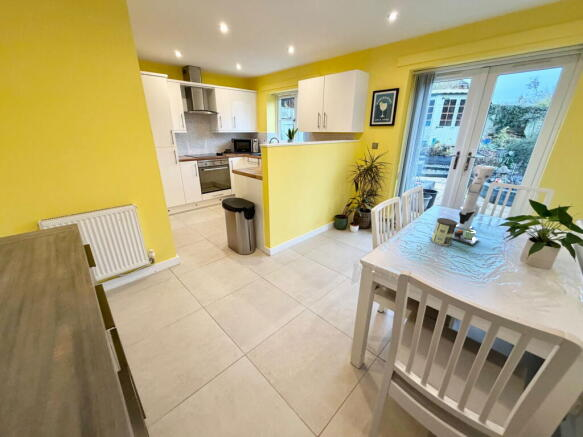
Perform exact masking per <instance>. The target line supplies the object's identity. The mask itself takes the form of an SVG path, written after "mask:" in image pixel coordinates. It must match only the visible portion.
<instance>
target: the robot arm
mask: <svg viewBox="0 0 583 437" xmlns="http://www.w3.org/2000/svg"><path fill="white" fill-rule="evenodd" d="M495 168H496V167H495V166H490V165H480V164H477V165H476V166H475V167H474V171H473V180H472V182H471V183H470V184H469V186H468V189H467V193H466V197H465V200H464V202H463V204H462V205H461V207H459V208H460V210H459V212H458V216H459V221H458V222H457V225H456V228H459V229H461V230H465V229H471V230H472V228H473V226H472V224H473V222H474V218H476V217H477V216H478V214H479V211H480V207H481V206H480V205H479V204H478V203H477V202H478V199H479V198H480V197H479V196H480V195H481V194H482V191H483V189H484V184H485V183H486V181H489V180H491V179H492V176H493V174H494V171H495Z"/></svg>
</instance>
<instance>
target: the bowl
mask: <svg viewBox="0 0 583 437" xmlns="http://www.w3.org/2000/svg"><path fill="white" fill-rule="evenodd" d="M463 232H464V233H463V237H465V238H467V239H472V238H475V235H476V230H473V229H472V228H471V229H463Z"/></svg>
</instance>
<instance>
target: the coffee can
mask: <svg viewBox="0 0 583 437" xmlns="http://www.w3.org/2000/svg"><path fill="white" fill-rule="evenodd" d="M456 225H458V222H457V221H455V220H453V219H450V218H445V217H439V218H437V219H436V224H435V226H434V230H433V233H432V237H431V241H432V242H433V243H434V244H437V245H440V246H450V245H451V244H452V241H453V240H452V237H453V235H454V234H455V231H456V228H457V227H456Z"/></svg>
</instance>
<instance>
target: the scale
mask: <svg viewBox="0 0 583 437" xmlns="http://www.w3.org/2000/svg"><path fill="white" fill-rule="evenodd" d="M458 230H459V229H455V231H454V234H453V237H452V240H451V241H454V242H458V243H461V244H464V245H467V246H469V247H473V246H474V245H475V244H476V243H478V241H479V238H476V237H474V238H475V240H474V241H470V240H466V239H463V238H461V235H463V233H464V231H463V232H462V233H459V232H458Z"/></svg>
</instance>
